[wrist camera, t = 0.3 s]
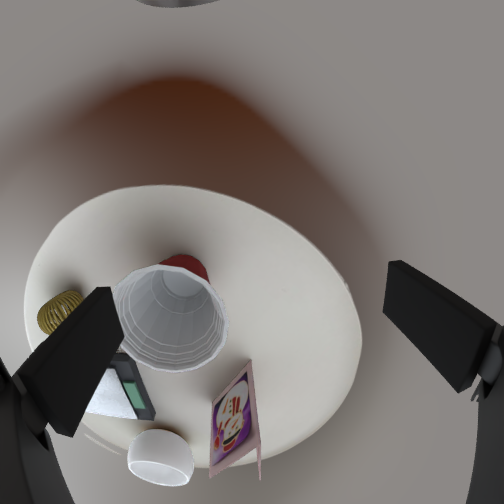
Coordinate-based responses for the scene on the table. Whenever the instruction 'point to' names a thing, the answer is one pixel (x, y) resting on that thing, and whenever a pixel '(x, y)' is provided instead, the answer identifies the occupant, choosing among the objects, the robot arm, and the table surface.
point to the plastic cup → (171, 315)
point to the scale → (122, 392)
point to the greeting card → (234, 423)
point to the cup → (161, 458)
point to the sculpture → (57, 310)
